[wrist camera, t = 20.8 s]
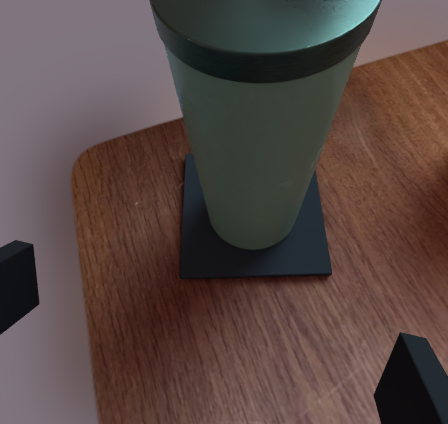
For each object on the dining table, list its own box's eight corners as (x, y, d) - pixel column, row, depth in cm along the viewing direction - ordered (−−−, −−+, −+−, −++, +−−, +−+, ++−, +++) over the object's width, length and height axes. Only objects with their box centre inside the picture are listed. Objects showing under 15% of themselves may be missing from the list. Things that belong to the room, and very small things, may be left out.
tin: (206, 252, 21) (135, 62, 7) (207, 170, 24) (157, -75, 10) (304, 249, 21) (417, 44, 7) (293, 167, 23) (359, -93, 10)
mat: (180, 279, 21) (179, 277, 20) (186, 157, 25) (185, 153, 25) (330, 275, 20) (332, 273, 20) (310, 151, 25) (311, 147, 24)
